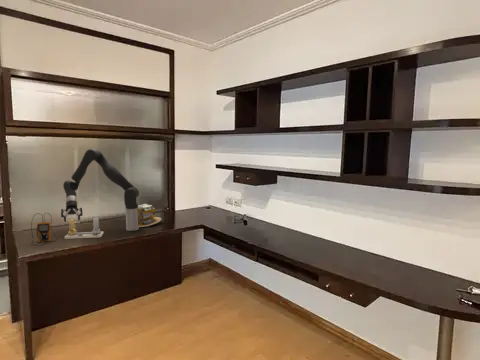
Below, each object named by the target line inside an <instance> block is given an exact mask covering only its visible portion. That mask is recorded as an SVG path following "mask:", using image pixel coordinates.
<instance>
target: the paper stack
mask: <svg viewBox="0 0 480 360" xmlns="http://www.w3.org/2000/svg"><path fill="white" fill-rule="evenodd" d="M154 212H156V208H155V207H153V205H152V204H148V203H143V204H138V217H139V228H143V227H144V228H145V227H149V226H152V225H155V224H158V223H159V222H161V220H162V218H161V217H158V216H156V213H154Z"/></svg>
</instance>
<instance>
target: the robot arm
mask: <svg viewBox="0 0 480 360" xmlns="http://www.w3.org/2000/svg"><path fill="white" fill-rule="evenodd" d="M94 161H95V162H96V163H97V164H98V165H99V166H100V167H101V169H102V171H103V173H104V175H105V176H106V177H107V178H108V180H110V181H111V182H113V183H114V184H115V185H117V186H119V187H120V188H121V189H123V191H124V193H123V197H124V200H123V201H124V206H125V223H126V224H125V226H126V228H125V229H126V231H129V232H132V231H138V230H139V228H140V227H139V217H138V205H139V204H138V203H137V198H138V197H139V196H140V191H139V188H137V187H136V186H135V185H133V183H131V182H130V181H129V180H128V179H127V178H126V177H125V176H124V175H123V174H122V173H121V172H120V171H119V170H118V169H117V168H116V167H115V166H114V165H113V164H112V163H111V162H110V161H109V160H108V159H107V158H106V157H105V155H104V154H103V153H102V151H101V150H99V149H98V148H89V149H87V150H86V151H85V153H84V155H83V156H82V159H81V161H80V163H79V164H78V167H77V168H76V169H75V171H74V172H73V173H72V176H71V179H72V181H71V180H68V179H67V180H65V181H64V182H63V190H64V192H65V195H66V197H65V209H64V208H61V210H60V217H61V218H63V222H65V223H67V217H68V216H69V215H70V216H72V215H75V216H77V221H78V222H80V220H81V217H83V214H84V213H83V208H82V207H79V208H78V199H77V192H76V191H77V190H79V186H80V183H81V181H82V180H83V177H84V176H85V175H86V173H87V170H88V167H89V166H90V164H91V163H92V162H94ZM78 211H79V212H78Z"/></svg>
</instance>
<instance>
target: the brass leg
mask: <svg viewBox="0 0 480 360" xmlns="http://www.w3.org/2000/svg"><path fill="white" fill-rule="evenodd" d="M68 221H69V223H68V224H69V225H68V226H69V230H68V233H67V234H71V236H72V234H75V233H78V229H76V219H75V218H70V219H68Z"/></svg>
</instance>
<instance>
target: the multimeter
mask: <svg viewBox="0 0 480 360" xmlns="http://www.w3.org/2000/svg"><path fill="white" fill-rule="evenodd" d="M37 214H39V215H41V216H42V217H41V222H38V223H36V236H37V241H38V242H39V243H36V242H35V243H34V241H32V242H31V244H32V245H38V246H39V245H43V244H45V243H46V242H51V243H53V242H55V240H54V241H51V239H52V237H51V236H52V234H51V230H52V232H53V235H54V236H55V239H56V240H58V238H57V236H56V234H55V232H54V229H52V228H53V227H51V223H52V221H53V220H52V215H51V214H50V213H49V212H47V214H48V215H49V216H50V221H46V220H45V218H44V215H45V214H46V212H44V214H43V215H42V213H38V212H37V213H36V215H37ZM34 218H35V215H32V220H31V221H33V220H34ZM30 225H31V226H30V227H31V230H30V231H33V227H32V226H33V222H31V224H30ZM31 236H32V238H34V235H33V233H31ZM41 242H42V243H41Z"/></svg>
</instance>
